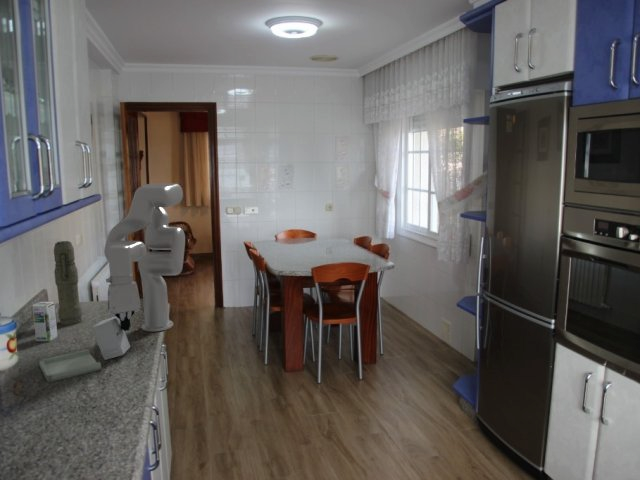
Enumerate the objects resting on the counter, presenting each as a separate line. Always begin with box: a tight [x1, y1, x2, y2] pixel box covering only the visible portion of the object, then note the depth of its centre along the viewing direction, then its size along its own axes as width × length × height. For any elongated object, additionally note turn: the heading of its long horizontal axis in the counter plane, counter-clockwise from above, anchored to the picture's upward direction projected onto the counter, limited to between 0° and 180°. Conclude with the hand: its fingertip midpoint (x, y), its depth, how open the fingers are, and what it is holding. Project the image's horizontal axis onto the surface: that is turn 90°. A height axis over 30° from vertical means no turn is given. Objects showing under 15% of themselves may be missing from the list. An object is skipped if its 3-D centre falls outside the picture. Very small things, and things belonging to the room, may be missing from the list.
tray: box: [38, 348, 102, 384], centre depth 175 cm, size 16×16×2 cm
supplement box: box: [91, 317, 131, 361], centre depth 183 cm, size 7×7×13 cm
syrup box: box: [32, 301, 58, 342], centre depth 202 cm, size 6×6×14 cm
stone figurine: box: [53, 240, 83, 326], centre depth 220 cm, size 9×12×35 cm
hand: (125, 329), depth 185 cm, fingers closed
